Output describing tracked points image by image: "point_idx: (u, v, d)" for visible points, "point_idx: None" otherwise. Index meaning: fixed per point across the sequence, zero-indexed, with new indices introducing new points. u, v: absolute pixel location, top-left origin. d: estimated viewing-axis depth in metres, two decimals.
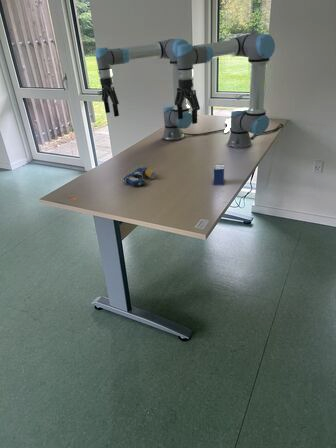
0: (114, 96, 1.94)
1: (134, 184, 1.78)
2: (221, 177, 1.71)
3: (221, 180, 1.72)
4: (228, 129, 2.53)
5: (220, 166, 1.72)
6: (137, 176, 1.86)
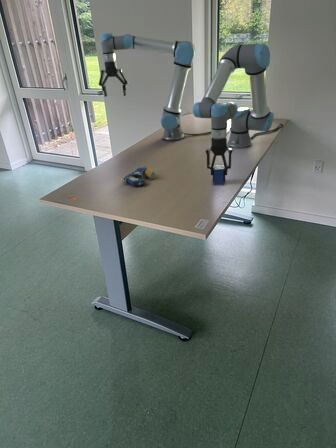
0: (124, 76, 2.17)
1: (134, 184, 1.78)
2: (221, 177, 1.71)
3: (221, 180, 1.72)
4: (228, 129, 2.53)
5: (220, 166, 1.72)
6: (137, 176, 1.86)
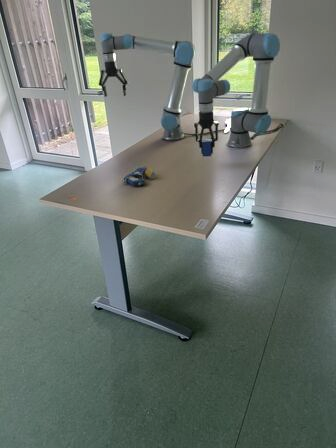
0: (124, 76, 2.17)
1: (134, 184, 1.78)
2: (209, 149, 1.86)
3: (209, 151, 1.86)
4: (228, 129, 2.53)
5: (207, 139, 1.86)
6: (137, 176, 1.86)
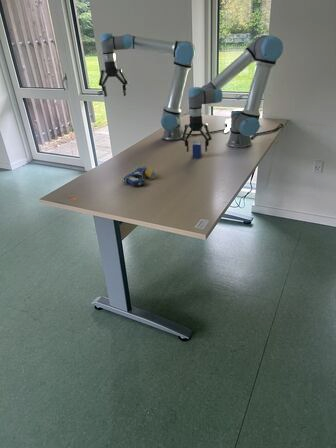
0: (124, 76, 2.17)
1: (134, 184, 1.78)
2: (198, 151, 2.07)
3: (198, 154, 2.07)
4: (228, 129, 2.53)
5: (197, 142, 2.07)
6: (137, 176, 1.86)
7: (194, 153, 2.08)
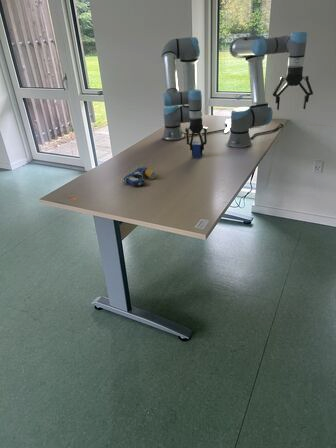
0: (206, 136, 2.04)
1: (134, 184, 1.78)
2: (198, 151, 2.07)
3: (198, 154, 2.07)
4: (228, 129, 2.53)
5: (197, 142, 2.07)
6: (137, 176, 1.86)
7: (194, 153, 2.08)
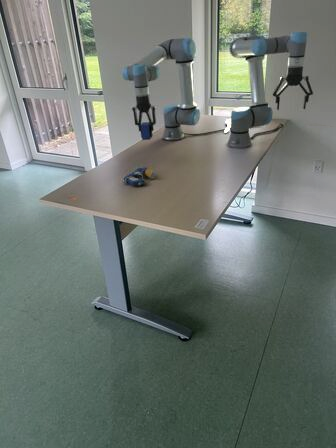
0: (155, 116, 1.90)
1: (134, 184, 1.78)
2: (147, 132, 1.93)
3: (148, 135, 1.94)
4: (228, 129, 2.53)
5: (146, 123, 1.94)
6: (137, 176, 1.86)
7: (143, 134, 1.94)
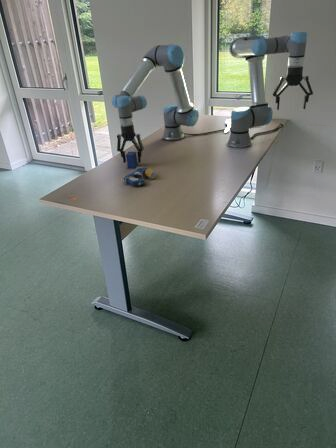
0: (141, 143, 1.96)
1: (134, 184, 1.78)
2: (132, 162, 2.00)
3: (133, 164, 2.01)
4: (228, 129, 2.53)
5: (132, 152, 2.01)
6: (137, 176, 1.86)
7: (128, 163, 2.01)
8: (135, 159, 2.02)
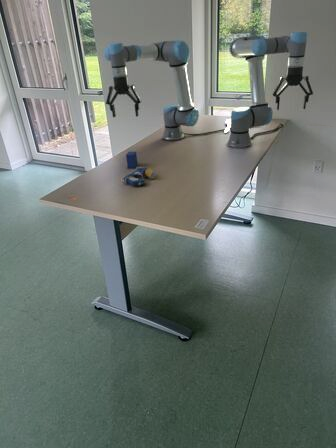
0: (137, 94, 1.82)
1: (134, 184, 1.78)
2: (132, 162, 2.00)
3: (133, 164, 2.01)
4: (228, 129, 2.53)
5: (132, 152, 2.01)
6: (137, 176, 1.86)
7: (128, 163, 2.01)
8: (135, 159, 2.02)
